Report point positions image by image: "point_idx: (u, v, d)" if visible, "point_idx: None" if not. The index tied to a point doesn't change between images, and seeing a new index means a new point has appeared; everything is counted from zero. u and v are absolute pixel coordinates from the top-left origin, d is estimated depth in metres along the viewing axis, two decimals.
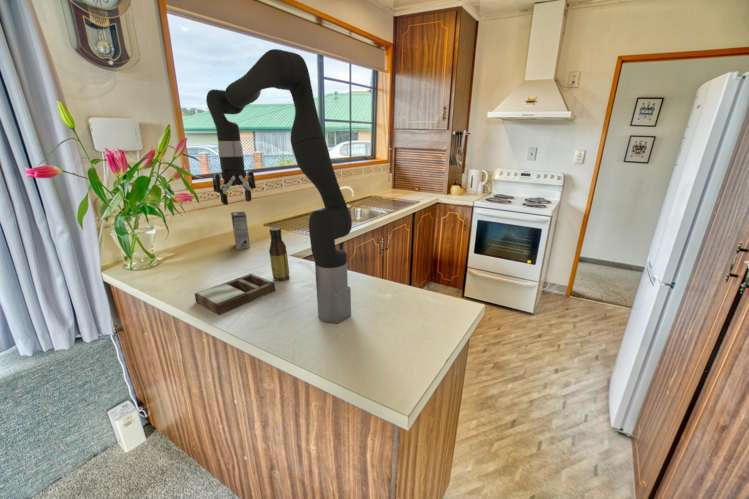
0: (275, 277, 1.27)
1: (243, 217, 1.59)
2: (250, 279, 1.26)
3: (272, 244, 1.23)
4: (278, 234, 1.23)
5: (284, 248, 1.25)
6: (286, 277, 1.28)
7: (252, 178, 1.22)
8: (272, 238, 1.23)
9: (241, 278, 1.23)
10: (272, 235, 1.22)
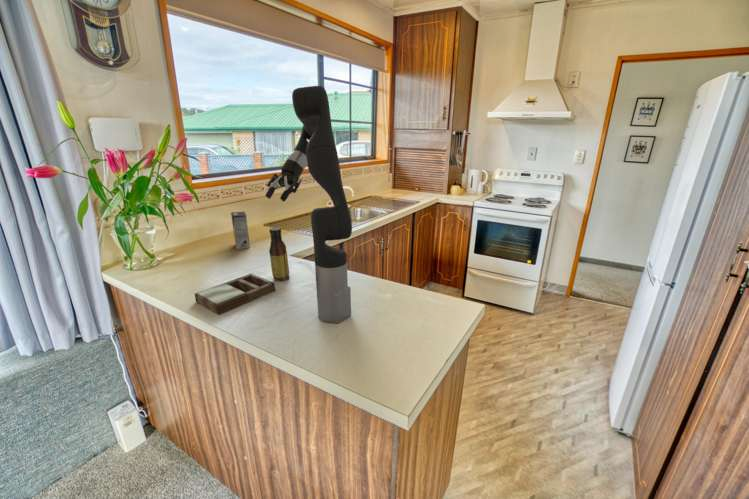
0: (275, 277, 1.27)
1: (243, 217, 1.59)
2: (250, 279, 1.26)
3: (272, 244, 1.23)
4: (278, 234, 1.23)
5: (284, 248, 1.25)
6: (286, 277, 1.28)
7: (294, 181, 1.27)
8: (272, 238, 1.23)
9: (241, 278, 1.23)
10: (272, 235, 1.22)
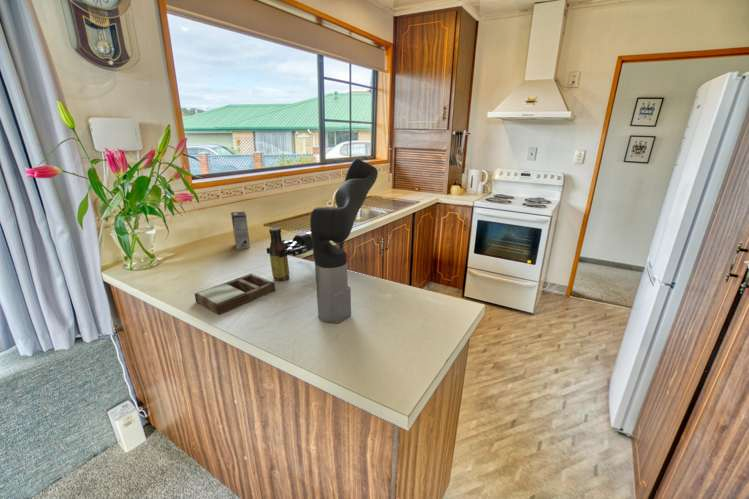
0: (275, 277, 1.27)
1: (243, 217, 1.59)
2: (250, 279, 1.26)
3: (272, 244, 1.23)
4: (278, 234, 1.23)
5: (284, 248, 1.25)
6: (286, 277, 1.28)
7: (300, 247, 1.27)
8: (272, 238, 1.23)
9: (241, 278, 1.23)
10: (272, 235, 1.22)
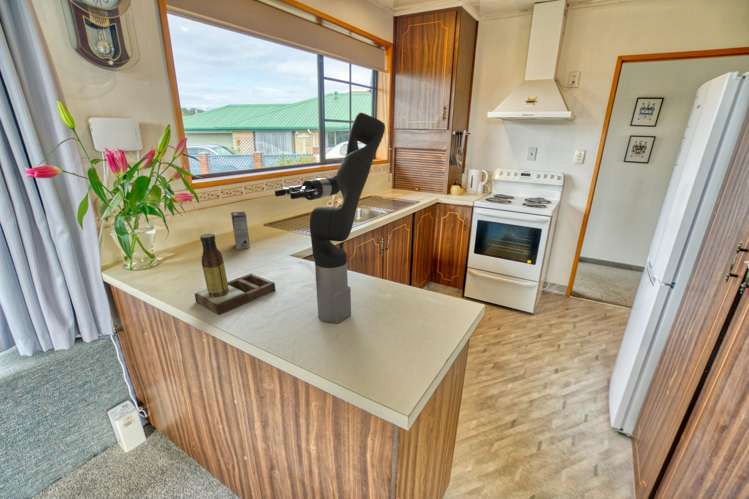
0: (210, 292, 1.08)
1: (243, 217, 1.59)
2: (250, 279, 1.26)
3: (204, 254, 1.04)
4: (210, 242, 1.03)
5: (219, 258, 1.05)
6: (223, 292, 1.09)
7: (312, 190, 1.22)
8: (203, 247, 1.03)
9: (241, 278, 1.23)
10: (203, 243, 1.03)
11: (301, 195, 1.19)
